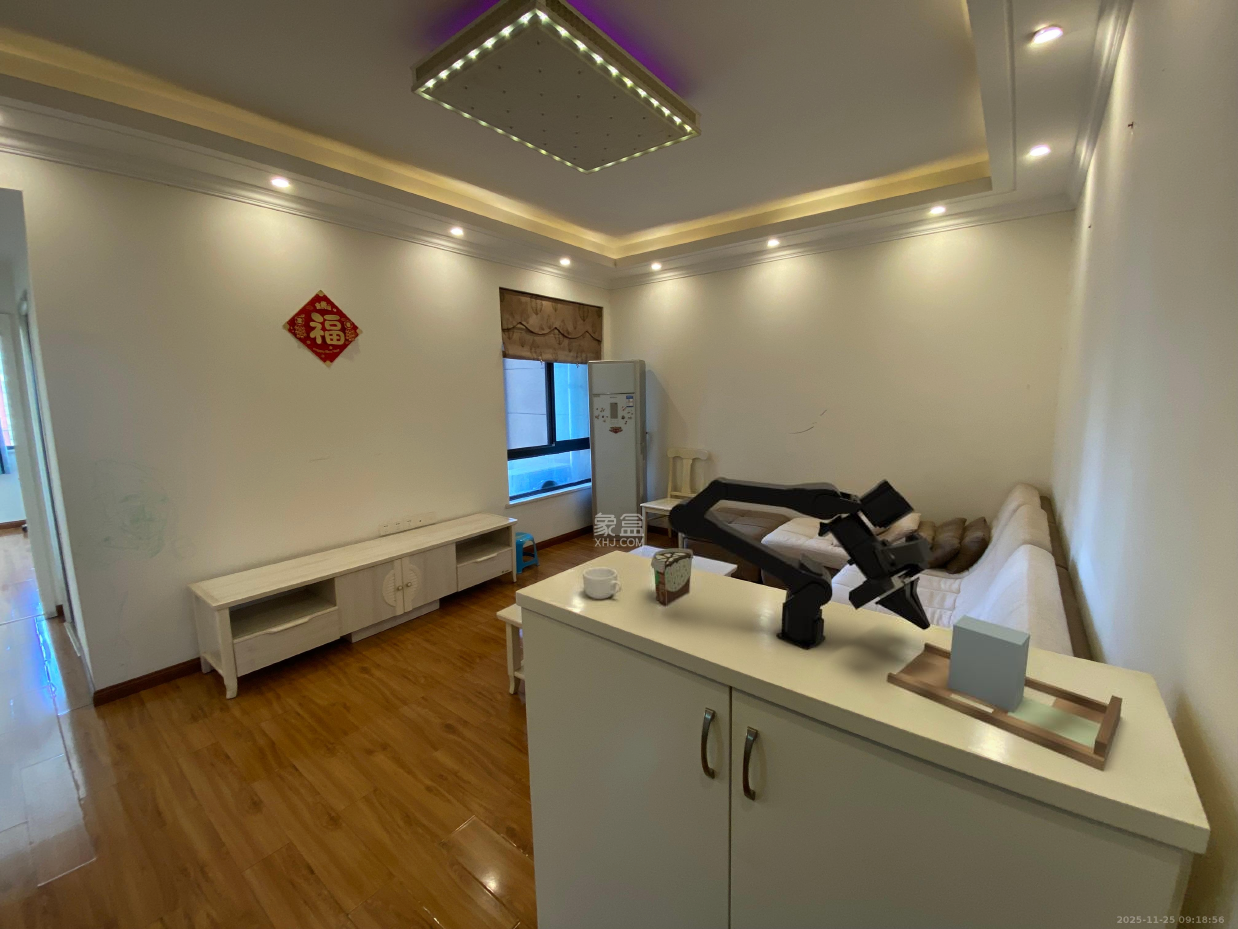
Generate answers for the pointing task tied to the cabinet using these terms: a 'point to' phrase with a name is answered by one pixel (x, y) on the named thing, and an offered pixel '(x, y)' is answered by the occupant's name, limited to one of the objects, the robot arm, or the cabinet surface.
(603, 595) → the teacup
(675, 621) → the cabinet surface
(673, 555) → the food container
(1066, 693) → the tray
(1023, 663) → the slate block
